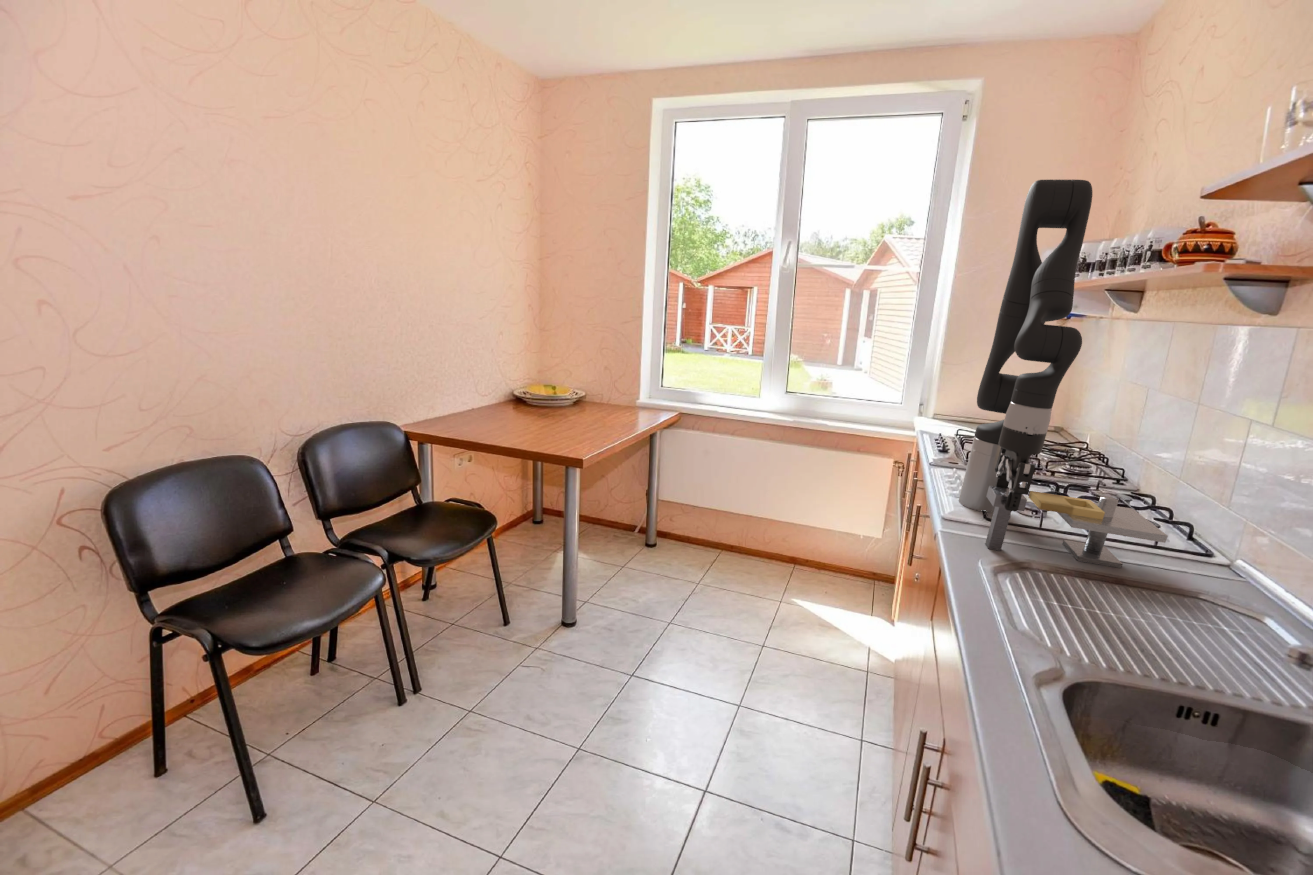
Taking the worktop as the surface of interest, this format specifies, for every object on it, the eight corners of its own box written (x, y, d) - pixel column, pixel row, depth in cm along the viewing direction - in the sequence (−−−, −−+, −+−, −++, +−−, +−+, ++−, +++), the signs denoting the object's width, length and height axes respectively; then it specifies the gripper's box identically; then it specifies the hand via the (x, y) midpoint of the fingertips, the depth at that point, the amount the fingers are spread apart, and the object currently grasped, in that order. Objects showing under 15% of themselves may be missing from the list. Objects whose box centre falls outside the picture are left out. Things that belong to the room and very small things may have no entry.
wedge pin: (975, 539, 126) (989, 485, 123) (1003, 544, 125) (1018, 490, 122) (981, 550, 121) (996, 494, 118) (1011, 555, 120) (1027, 499, 116)
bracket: (1088, 506, 124) (1090, 500, 124) (1102, 519, 117) (1104, 512, 117) (1028, 497, 127) (1030, 490, 126) (1039, 509, 120) (1041, 502, 120)
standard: (1119, 548, 128) (1137, 493, 124) (1151, 579, 115) (1174, 519, 111) (1037, 534, 131) (1053, 480, 128) (1060, 563, 118) (1078, 504, 115)
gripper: (994, 416, 123) (976, 488, 128) (1014, 432, 110) (993, 512, 114) (1034, 421, 121) (1014, 494, 126) (1059, 438, 108) (1036, 519, 113)
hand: (1004, 502), depth 120 cm, fingers open, 8 cm apart
